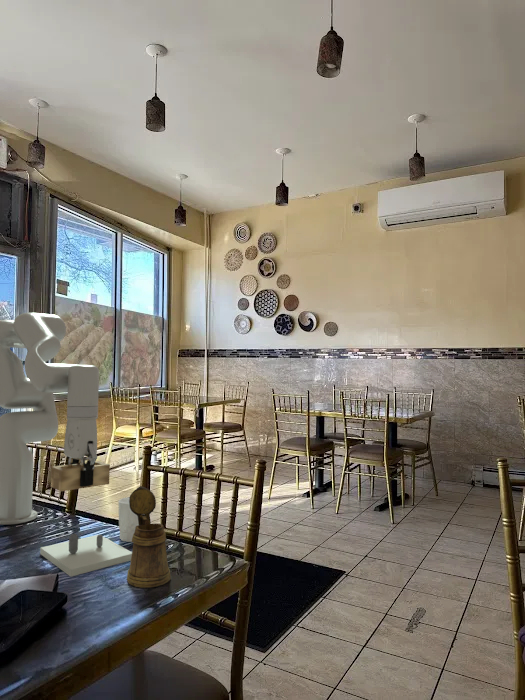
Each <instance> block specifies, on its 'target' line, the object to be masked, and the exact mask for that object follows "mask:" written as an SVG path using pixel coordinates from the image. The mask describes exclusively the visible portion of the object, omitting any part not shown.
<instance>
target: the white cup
mask: <svg viewBox="0 0 525 700" xmlns="http://www.w3.org/2000/svg"><path fill="white" fill-rule="evenodd" d="M129 498H130V496H127V497H123V498H120V499H118V501H117V502H118V529H119V540H120V539H121V540H120V541H121V542H125V541H126V543H133V542H132V537H133V534H134V533H135V528H136V526H138V525H139V524H138V516H137V515H136V514H134V513H133V512H132V511H131V509H130V504H129ZM144 515H145V514H144Z"/></svg>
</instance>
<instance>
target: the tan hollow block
mask: <svg viewBox="0 0 525 700" xmlns="http://www.w3.org/2000/svg"><path fill="white" fill-rule="evenodd" d="M85 464H86V462H85ZM110 465H111V464H109V463H106V462H102V461H98V460H96V461H95V465H94V472H93V485H91V486H84V487H81V486H80V470H82V466H81V462H80V463H79V464H71V465H68V464H61V465H54V466H51V470H50V471H51V472H50V473H51V475H50V477H51V478H50V487H51V488H53V489H55V490H57V491H59V492H65V491H72V490H78V489H80V490H81V489H86V488H87V489H88V488H92V487H98V486H99V487H100V486H107V485H110V474H111V473H110V470H111V469H110Z"/></svg>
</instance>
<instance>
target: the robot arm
mask: <svg viewBox="0 0 525 700" xmlns="http://www.w3.org/2000/svg"><path fill="white" fill-rule="evenodd" d="M66 332H67V326H66V323H65V321H64V320H63V318H61V317H60V316H59V315H56V314H51V313H50V314H49V313H39V312H23V313H21V314H19V315H17V316H16V317H15V318H14V319H0V407H1V408H2V409H7V410H19V409H21V410H22V409H33V410H22V411H21V410H20V411H10V412H6V413H4V414H1V415H0V525H3V526H4V525H8V526H9V525H18V524H24V523H28V522H30V521H33V520H35V519H36V518H38V511H36V510H34V509H33V491H34V490H33V488H34V487H33V486H34V485H33V484H34V483H33V482H34V456H33V454H32V451H31V450H30V448H29V447H28V446H27V444H30V443H39V442H46V441H50V440H51V441H52V440H53V439H54V438H55V437H56V436H57V434H58V432H59V420H58V414H57V408H56V401H55V396H54V393H67V398H66V399H67V401H66V403H67V405H66V420H67V421H66V425H65V432H64V435H65V436H64V446H63V455H65V456H66V457H67V458H68V459H67V461H68V463H67V465H71V464H79V463H81V466H82V470H80V486H81V487H84V486H91V485H93V472H94V465H95V462H97V459H98V455H97V454H98V426H97V423H98V422H97V420H98V418H99V387H100V370H99V368H98V366H96V365H92V364H91V365H90V364H78V363H77V364H75V363H74V364H73V363H47V362H49V361H50V360H52V359H53V358H55V357H56V356H57V355H58V354H59V352H60V349H61V341H63V340H64V338H65V336H66V335H67V333H66ZM11 348H15V349H26V350H27V353H26V355H25V357H24V365H23V363H22V360H21V359H20V357H19V356H18V354H16V353H15V352H14V351H12V350H11ZM24 369H25V370H24ZM85 463H86V464H85Z"/></svg>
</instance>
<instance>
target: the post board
mask: <svg viewBox="0 0 525 700" xmlns="http://www.w3.org/2000/svg"><path fill="white" fill-rule="evenodd" d="M39 549H40V550H39V551H40V553H39V555H41V556H43V558H45V559H46V560H48V562H50V563H52V564H53V565H54V566H56V567H57V568H58V569H59V570H61V571H62V572H64V573H65V574H67V575H68V576H69V577H70V578H73V577H75V576H79V575H82V574H86V573H89V572H93V571H97V570H101V569H103V568H108V567H112V566H115V565H119V564H123V563H126V562H131V556H132V550H131V551H130V550H129V549H127V548H126V547H123V546H122V545H120V544H117V543H116V542H114V541H112V540H110V539H109V538H107V537H105V536H103V534H96V535H90V536H87V537H81V538H79V536H78V535H77V534H76V533H72V534H71V535H69V537H68V541H64V542H60V543H59V542H58V543H55V544H52V545H51V544H50V545H46V546H41V547H40V548H39Z"/></svg>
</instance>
